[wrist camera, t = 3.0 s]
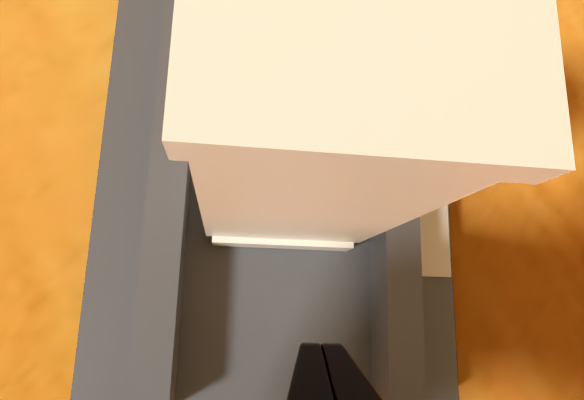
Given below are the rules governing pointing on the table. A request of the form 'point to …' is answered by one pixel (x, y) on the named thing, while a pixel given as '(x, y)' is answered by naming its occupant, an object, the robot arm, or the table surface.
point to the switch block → (237, 273)
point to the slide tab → (359, 111)
